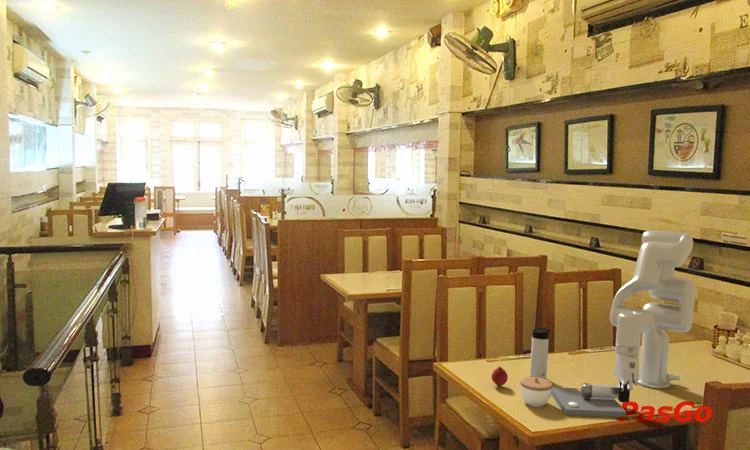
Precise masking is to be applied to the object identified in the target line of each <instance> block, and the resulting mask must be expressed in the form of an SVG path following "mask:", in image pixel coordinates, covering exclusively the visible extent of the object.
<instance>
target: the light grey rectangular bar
mask: <svg viewBox="0 0 750 450" xmlns="http://www.w3.org/2000/svg"><path fill="white" fill-rule="evenodd" d="M581 388H582V391H581V396H582V397H584V399H590V398H614V399H615V400H618V392H619V384H604V383H603V384H599V383H586V382H584V383H582V384H581Z"/></svg>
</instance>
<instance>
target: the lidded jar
mask: <svg viewBox="0 0 750 450" xmlns="http://www.w3.org/2000/svg"><path fill="white" fill-rule="evenodd" d="M519 381H520V394H521V397H522V399H523V401H524V402H525V403H526V405H528V406H530V407H532V408H533V407H534V408H541V407H544V406H545V405H546V404H547V403H548V402H549V401H550V398H551V396H552V394H551V390H552V387H553V383H552V382H551V381H550V380H549V379H547V378H546V379H543V378H538V377H530V376H526V377H523V378H521V379H520V380H519Z"/></svg>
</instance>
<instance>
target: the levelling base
mask: <svg viewBox="0 0 750 450" xmlns="http://www.w3.org/2000/svg"><path fill="white" fill-rule="evenodd" d="M581 391H582V387H581V388H580V387H575V388H574V387H557V386H556V387H555V386H554V387H553V386H552V390H551V396H552V397H553V400H554V401H555V402H556V403H557V405H558V406H559V408H560V410H561V411H562V412H563V414H564V416H578V417H580V416H582V417H584V416H585V417H607V418H608V417H609V418H622V417H621V416H624V417H623V418H626V417H627V416H626V415H627V411H626V409H624V408H623V407H622V405H621V404H619V402H618V401H617V399H615V398H590V399H584V397H582V396H581Z"/></svg>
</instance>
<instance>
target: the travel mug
mask: <svg viewBox="0 0 750 450" xmlns="http://www.w3.org/2000/svg"><path fill="white" fill-rule="evenodd" d="M549 332H551V329H550V328H545V327H544V328H543V327H541V328H540V327H539V328H534V329H533V330H532V336H531V350H530V365H529V367H530V369H529V377H538V378H543V379H546V380H547V375H548V374H547V372H548V357H549V339H550V337H549V335H550V333H549Z"/></svg>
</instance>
